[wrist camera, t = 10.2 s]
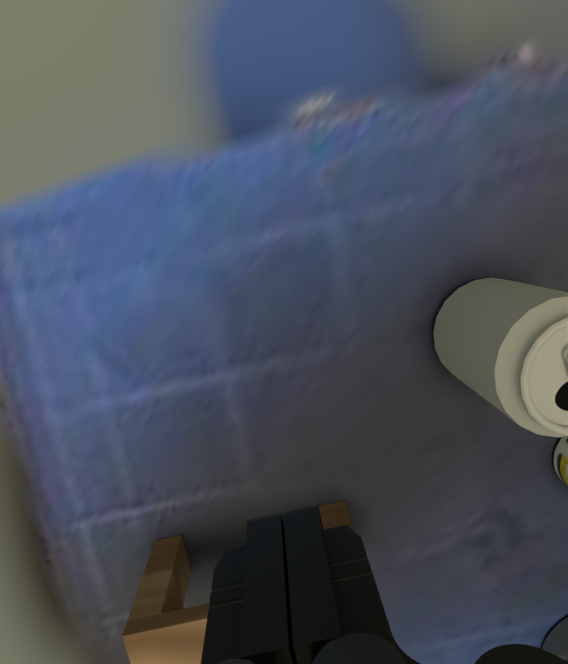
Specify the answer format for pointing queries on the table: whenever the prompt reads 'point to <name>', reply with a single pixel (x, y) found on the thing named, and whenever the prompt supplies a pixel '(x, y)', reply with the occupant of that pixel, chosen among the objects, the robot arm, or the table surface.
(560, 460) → the supplement bottle
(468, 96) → the table surface
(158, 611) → the bridge
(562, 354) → the can
